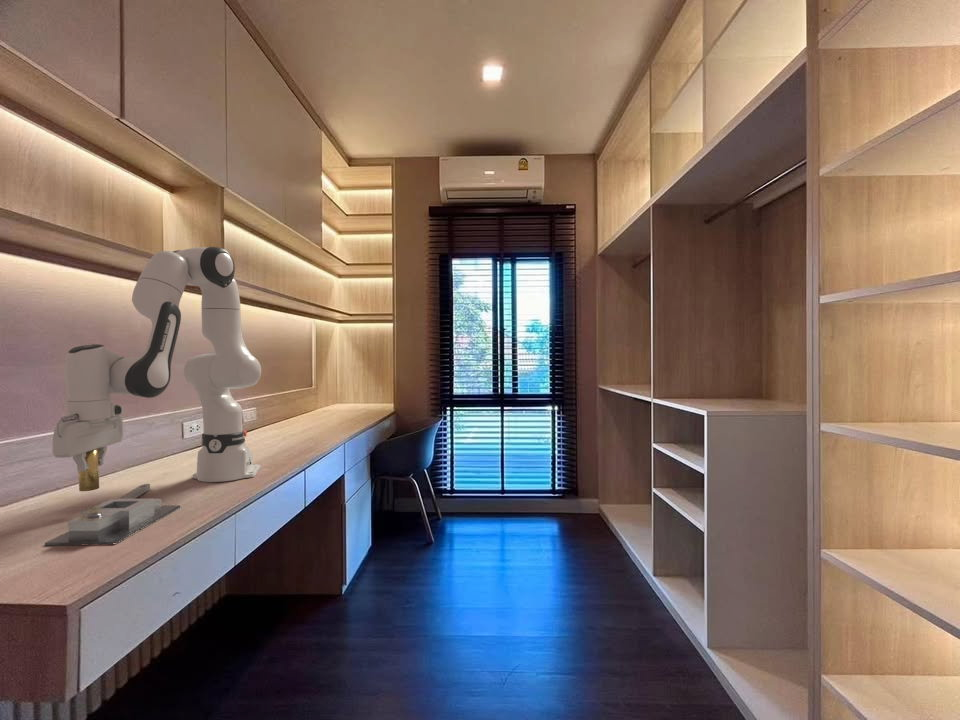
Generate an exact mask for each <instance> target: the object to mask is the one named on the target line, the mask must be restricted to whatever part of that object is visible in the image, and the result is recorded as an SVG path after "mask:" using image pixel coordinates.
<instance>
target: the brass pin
mask: <svg viewBox="0 0 960 720" xmlns="http://www.w3.org/2000/svg"><path fill="white" fill-rule="evenodd" d="M84 458H85V461H86V463H89V469H88V470H86V471H83V472H79V471H77V472H78V474H77V475H78V491H79V492H91V491H96V490H98V489H100V469H99V467H100V466H98V449H95V450H92V451H88V452H86V457H84Z"/></svg>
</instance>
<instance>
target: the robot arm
mask: <svg viewBox="0 0 960 720" xmlns="http://www.w3.org/2000/svg"><path fill="white" fill-rule="evenodd" d="M235 268H236V267H235V261H234V259H233V257H232V255H231V254H230V252H229V251H227V249H224V248H221V247H217V246H209V247H205V246H197V247H191V248H185V249H178V250H174V251H171V250H161V251H160V250H159V251H157V252H155V253H154V254H153V255H152V256H151V258H150V259H149V261H148V262H147V263H146V265H145V266H144V267H143V269H142V271H141V273H140V275H139V277H138V279H137V282H136V284H135V286H134V288H133V291H132V296H131V301H132V305H133V307H134V308H135V309H136V311H137V312H138V313H140V315H142V316H144V317H145V318H147V319H149V320H150V321H151V329H150V334H149V337H148V338H149V339H148V340H147V343H146V344H147V345H146V348H145V351H144V353H142V355H141V356H139V357H125V356H123V355H120V354H117V353H116V352H113V351H111V350H110V349H109V348H107V347H106V345H104V344H99V343H97V344H96V343H95V344H93V343H92V344H85V345H79V346H75V347H73V348H71V349H69V350H68V352H67V354H66V357H65V360H64V383H65V386H66V392H67V393H66V396H65V416H62V417H60V419H59V420H58V422H57V423H56V424H55V425H56V426H55V428H54V431H53V437H52V455H53V456H54V458H60V459H61V458H71V457H72V460H73V461H74V462H75V464H76V470H77V472H78V471H79V472H83V471H86V470H88V469H89V463H86V461H85V458H84V457H86V452H88V451H92V450H95V449H98V466H99V467H101V466H103V465H104V461H105V460H104V458H105V456H106V453H107V448H108V446H111V445H114V444H117V443H120V442H121V441H122V438H123V437H124V419H123V417H122V415H123V414H124V406H122V405H120V404H117V403H114V402H111V394H112V395H122V396H135V397H141V398H147V399H148V398H149V399H150V398H155V397H157V396H160V395H161V394H163V393H164V392H165V391H166V389H167V388H168V386H169V385H170V382H171V371H172V370H171V369H172V359H173V355H174V352H175V347H176V342H177V339H178V335H179V330H180V326H181V320H182V313H181V309H180V302H181V299H182V297H183V295H184V294H183V293H184V291H185V288H186V286H191V287H192V286H193V287H199V289H200V291H201V332H202V335H203V337H205V339H206V340H208V341H209V342H210V343H211V345H212V346H213V348H214V350H215V353H204V354H199V355H195V356H192V357H189V358H188V359H187V361H186V362H185V364H184V366H183V367H184V368H183V375H184V378H185V381H187V383H189V384H190V386H192V387H193V389H194V390H195V392H196V394H197V396H198V398H199V402H200V404H201V408H202V421H203V422H202V423H203V433H202V434H201V445H202V448H200V449H199V450H198V452H197V457H196V460H197V461H196V472H195V473H193V474H192V475H191V478H192V479H197V480H198V481H199V482H203V483H204V482H205V483H207V482H209V483H217V482H218V483H219V482H230V481H237V480H242V479H248V478H254V477H255V476H256V474H257V473H258V472H259V471H260V469H261V467H262V466H261V464H257V463H254V452H253V450H251V449H250V448H249V446H248V445H247V444H246V438H245V437H247V435H248V433H247V432H248V431H247V430H243V409H242V406H241V404H240V403H238V402H237V401H236V400H235V399H234V398H233V396H232V393H231V391H230V390H241V389H246V388H251V387H253V386H255V385H257V384H258V382H259V381H260V379H261V377H262V366H261V363H260V361H259V360H258V359H257V357H255V356H254V355H253V354H252V353H251V352H250V351H249V348H248V347H247V345H246V343H245V341H244V337H243V332H242V315H241V314H242V313H241V299H240V292H239V287H238V283H237V281H236V279H235V277H234V276H235Z"/></svg>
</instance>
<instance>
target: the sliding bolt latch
mask: <svg viewBox="0 0 960 720" xmlns="http://www.w3.org/2000/svg"><path fill="white" fill-rule="evenodd" d="M162 503H163V502H162V498H153V497H152V498H150V497H149V498H135V499H119V498H110V499H108V500H105V501H103V502H100V503H99V504H96V505H93V506H91V507H89V508H87V509H84V510H83V511H81V515H80V516H77V517H75V518H73V519H71V520H68V531H67V532H65V533H63V534H61V535H59V536H56V537H54V538H52V539H50V540H47V541H46V542H44V546H46V547H47V546H48V547H50V546H51V547H52V546H53V547H55V546H59V545H60V546H81V545H80V544H113V543H117V542H119V541H121V540H123V539H124V538H126V537H128V536H129V535H131V534H133V533H135V532H136V531H138V530H140V529H141V528H143V527H145V526H147V525H149V524H151V523H152V524H154V523H155V522H154V521H156V520H158V519H159V520H161V519H163V518H164V516H165V515H166V516H168V515H170V514H172V513H173V512H175V511H177V510H179V509H180V508H181V505H179V504H178V505H176V504H175V505H172V504H171V505H170V504H169V505H162ZM178 508H179V509H178ZM176 509H177V510H176ZM171 512H172V513H171ZM169 513H170V514H169ZM167 514H168V515H167ZM166 516H165V517H166ZM162 517H163V518H162ZM160 518H161V519H160ZM159 520H158V521H159ZM153 522H154V523H153ZM156 522H157V521H156ZM152 524H151V525H152ZM149 526H150V525H149ZM147 527H148V526H147ZM145 528H146V527H145ZM140 531H141V530H140ZM138 532H139V531H138ZM135 534H136V533H135ZM133 535H134V534H133ZM131 536H132V535H131ZM128 538H129V537H128ZM126 539H127V538H126ZM124 540H125V539H124ZM124 540H123V541H124ZM121 542H122V541H121ZM119 543H120V542H119ZM117 544H118V543H117Z"/></svg>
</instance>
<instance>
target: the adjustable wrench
mask: <svg viewBox="0 0 960 720" xmlns="http://www.w3.org/2000/svg"><path fill="white" fill-rule="evenodd" d="M149 490H151V484H150V483H145V484H141V485H139V486H136V487H135V488H134V489H132V490H131V491H129V492H127V493H126V494H124V495H122V496H121V497H120V498H118V499H138V497H140V496H141V495H144V494H145V493H146V492H148V491H149Z"/></svg>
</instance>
